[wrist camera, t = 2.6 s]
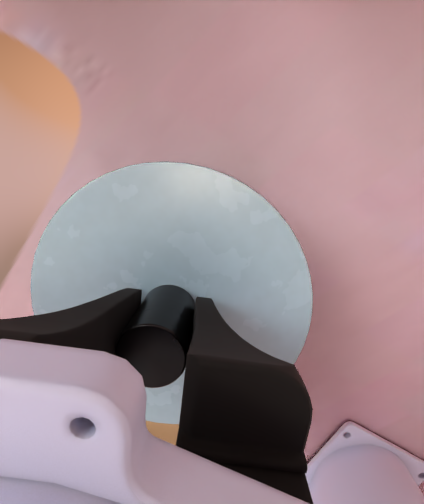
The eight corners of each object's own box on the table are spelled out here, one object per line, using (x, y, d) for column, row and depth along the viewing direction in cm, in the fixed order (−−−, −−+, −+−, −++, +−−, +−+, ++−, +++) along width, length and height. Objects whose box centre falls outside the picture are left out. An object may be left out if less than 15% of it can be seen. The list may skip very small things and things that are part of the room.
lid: (257, 432, 16) (272, 536, 11) (30, 373, 15) (-51, 455, 11) (348, 209, 13) (418, 227, 8) (64, 125, 12) (-29, 96, 8)
